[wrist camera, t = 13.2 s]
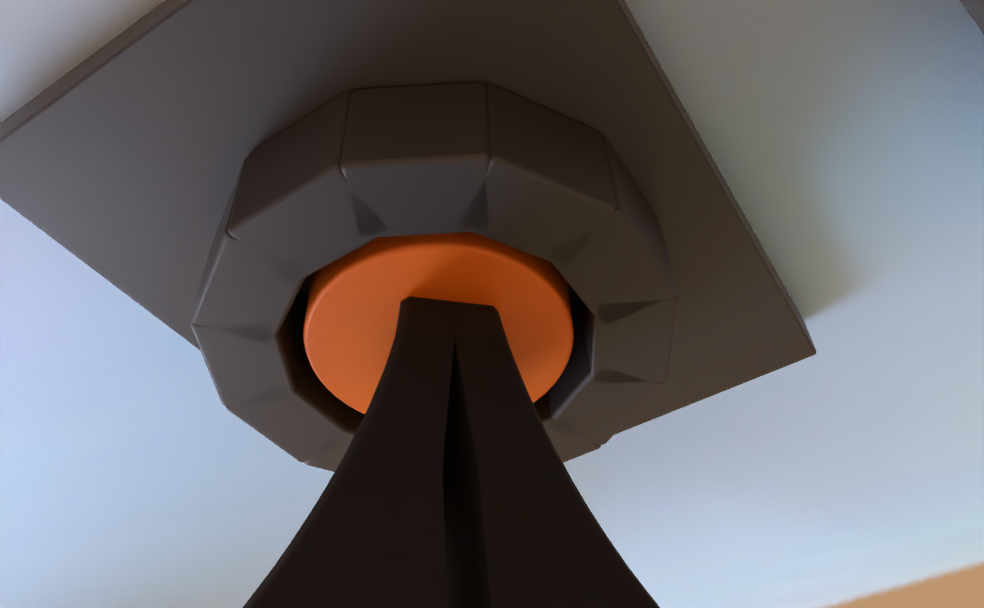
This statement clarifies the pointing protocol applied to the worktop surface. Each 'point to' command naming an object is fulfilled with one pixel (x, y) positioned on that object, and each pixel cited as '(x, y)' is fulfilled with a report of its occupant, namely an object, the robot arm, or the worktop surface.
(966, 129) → the worktop surface
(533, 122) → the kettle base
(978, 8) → the control panel
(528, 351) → the button
